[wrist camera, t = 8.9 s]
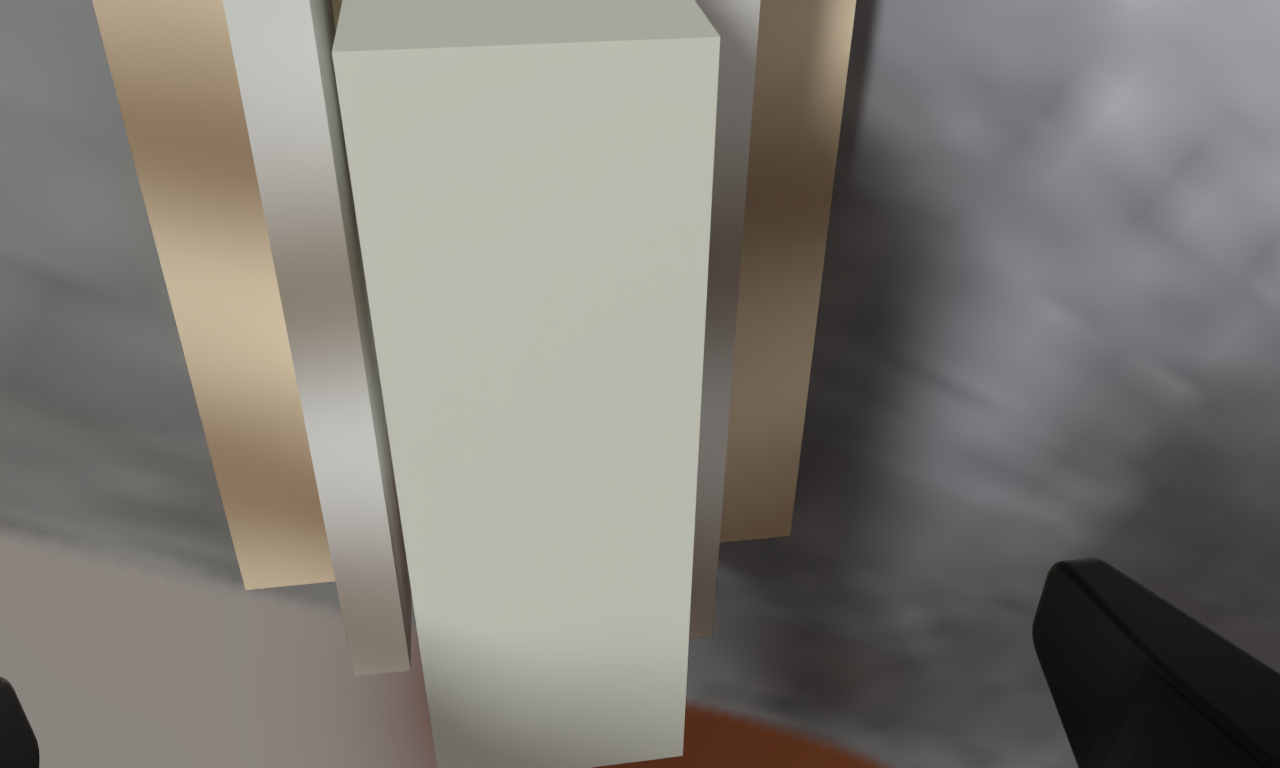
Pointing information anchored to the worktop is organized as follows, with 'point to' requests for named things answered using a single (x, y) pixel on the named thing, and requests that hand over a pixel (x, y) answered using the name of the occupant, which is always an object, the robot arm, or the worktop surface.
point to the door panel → (539, 353)
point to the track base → (338, 301)
